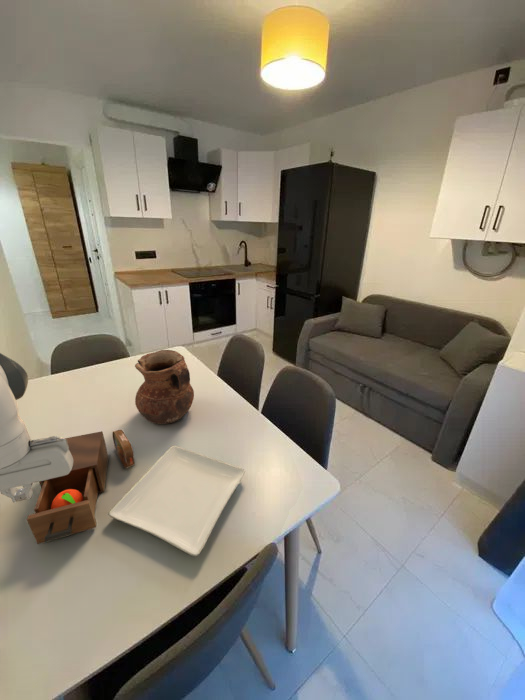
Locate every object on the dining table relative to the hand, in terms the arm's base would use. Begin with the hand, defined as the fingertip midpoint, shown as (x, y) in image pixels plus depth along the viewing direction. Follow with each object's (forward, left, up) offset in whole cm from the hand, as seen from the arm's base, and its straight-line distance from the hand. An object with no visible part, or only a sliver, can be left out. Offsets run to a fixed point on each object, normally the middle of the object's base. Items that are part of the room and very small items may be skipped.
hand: (23, 497), depth 61 cm
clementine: (+4, +7, -17) cm, 19 cm away
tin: (+16, +26, -19) cm, 36 cm away
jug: (+31, +46, -19) cm, 59 cm away
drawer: (+4, +7, -18) cm, 19 cm away
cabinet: (+4, +21, -19) cm, 28 cm away
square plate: (+32, +4, -19) cm, 37 cm away
